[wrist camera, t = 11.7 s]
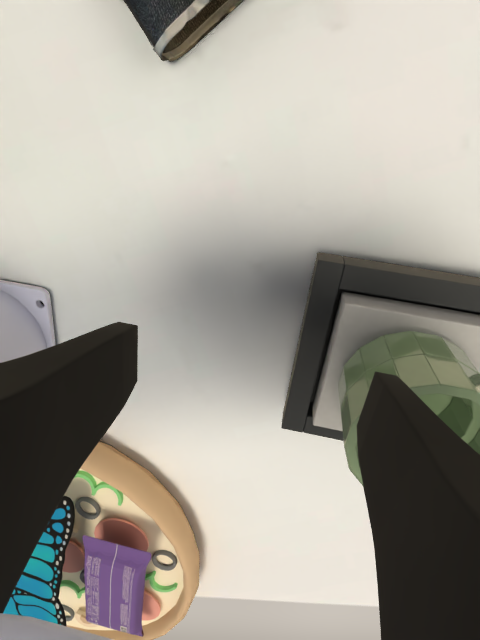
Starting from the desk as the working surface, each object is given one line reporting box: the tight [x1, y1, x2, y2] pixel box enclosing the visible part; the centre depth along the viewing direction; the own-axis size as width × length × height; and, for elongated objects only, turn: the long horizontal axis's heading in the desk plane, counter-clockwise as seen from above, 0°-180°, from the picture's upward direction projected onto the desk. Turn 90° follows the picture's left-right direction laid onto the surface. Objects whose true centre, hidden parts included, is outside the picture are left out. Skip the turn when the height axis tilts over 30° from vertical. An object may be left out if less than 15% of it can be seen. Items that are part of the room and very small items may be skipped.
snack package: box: [82, 535, 151, 637], centre depth 29 cm, size 12×2×5 cm
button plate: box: [313, 292, 480, 431], centre depth 19 cm, size 7×7×2 cm
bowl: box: [338, 331, 480, 485], centre depth 16 cm, size 6×6×4 cm
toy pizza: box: [58, 441, 199, 640], centre depth 32 cm, size 25×3×25 cm
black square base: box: [282, 252, 480, 441], centre depth 20 cm, size 10×10×3 cm
